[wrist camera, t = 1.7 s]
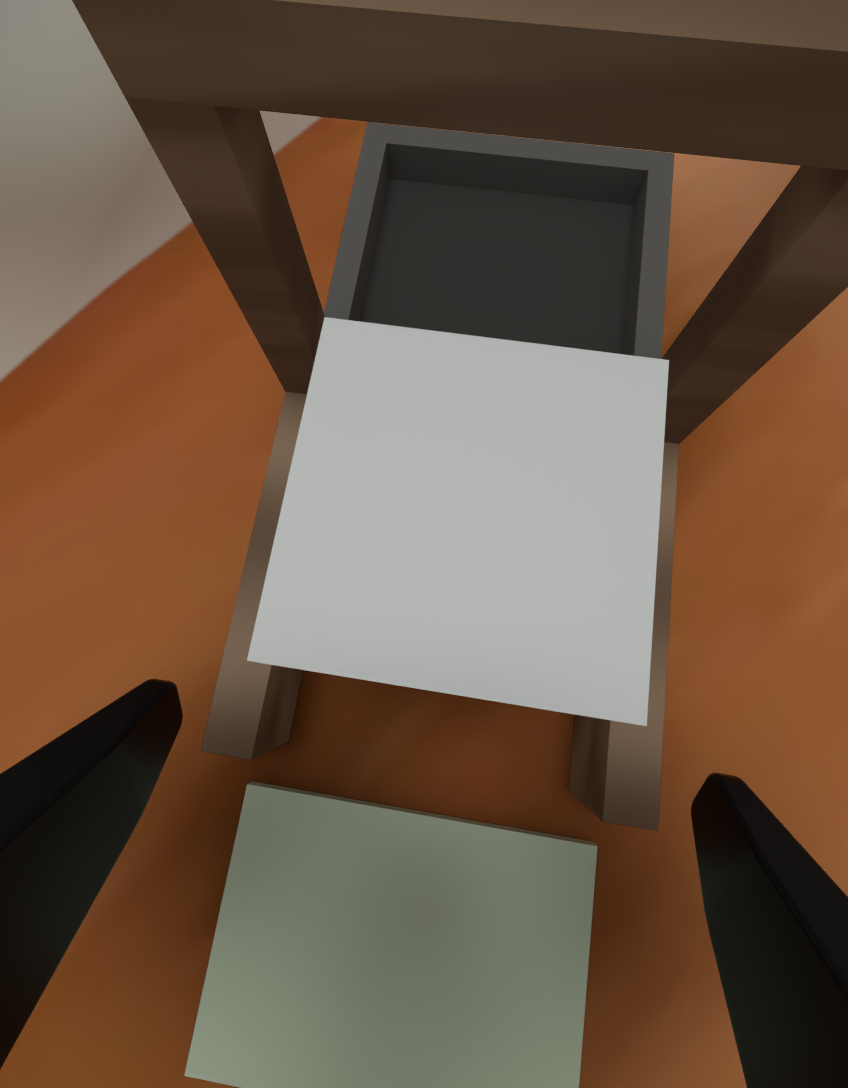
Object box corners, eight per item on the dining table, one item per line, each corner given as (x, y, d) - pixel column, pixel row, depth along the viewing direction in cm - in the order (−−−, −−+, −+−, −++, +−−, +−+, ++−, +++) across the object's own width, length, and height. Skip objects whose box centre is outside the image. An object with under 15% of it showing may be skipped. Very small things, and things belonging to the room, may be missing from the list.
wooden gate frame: (611, 797, 19) (1258, 1270, 4) (248, 734, 19) (-338, 936, 5) (636, 450, 21) (1064, -18, 7) (319, 407, 22) (94, -95, 8)
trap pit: (638, 416, 22) (659, 391, 20) (326, 375, 23) (316, 347, 21) (655, 194, 24) (674, 153, 22) (372, 164, 25) (367, 122, 23)
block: (520, 691, 19) (647, 726, 8) (358, 665, 20) (246, 660, 8) (538, 533, 21) (669, 360, 9) (386, 511, 21) (324, 317, 9)
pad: (569, 1143, 16) (573, 1158, 16) (191, 1064, 17) (184, 1075, 17) (593, 841, 18) (597, 846, 18) (252, 780, 19) (247, 783, 18)
